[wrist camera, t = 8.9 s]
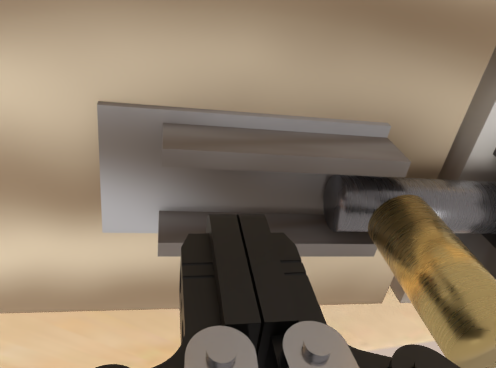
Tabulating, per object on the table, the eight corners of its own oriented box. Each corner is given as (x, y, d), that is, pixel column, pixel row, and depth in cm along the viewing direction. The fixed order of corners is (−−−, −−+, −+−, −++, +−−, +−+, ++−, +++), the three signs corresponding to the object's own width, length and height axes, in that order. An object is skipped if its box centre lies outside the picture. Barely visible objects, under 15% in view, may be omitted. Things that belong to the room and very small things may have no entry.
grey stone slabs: (-59, -96, 13) (-291, -106, 6) (605, 8, 19) (847, 62, 12) (7, 248, 20) (-69, 411, 14) (472, 250, 26) (578, 366, 19)
